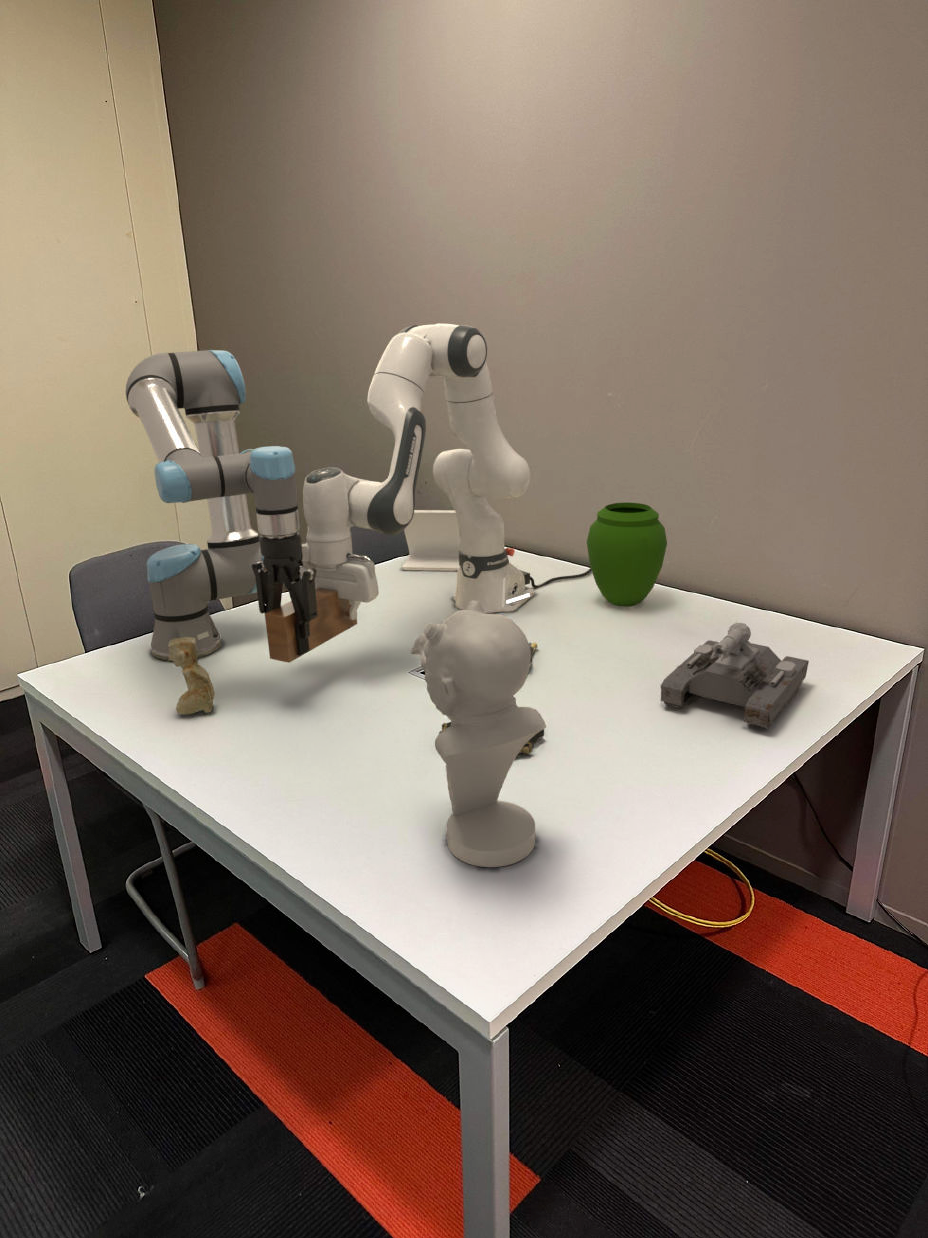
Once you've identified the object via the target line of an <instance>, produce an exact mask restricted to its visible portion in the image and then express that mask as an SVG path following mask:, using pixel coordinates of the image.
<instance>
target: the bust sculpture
mask: <svg viewBox="0 0 928 1238" xmlns="http://www.w3.org/2000/svg"><path fill="white" fill-rule="evenodd" d="M529 643H530V642H529V640H528V638H527V635H526V634H525V633H524V632H523V630H522V629H521V628H520V626H519V625H517V624H516V622H514V620H512V619H511V618H508V617H507V616H504V615H503V614H502V615H501V614H496V613H484V609H483V608H482V605H481V603H480V602H478V601H474V600H472V601H470V603H469V605H468V607H467V609H466V610H461V609H459V610H457V611H455V612H453V613H451V615H449V616H448V617H447V618H446V619H445V620H444V622H442V624H441V623H435V622H430V623H428V624H427V625H426V626H425V628H424V632H423V633H421V634H419V635H418V636H417V637H416V638H415V640H414V642H413V645H412V647H411V649H410V654H412V655H420V667H421V669H422V670H423V672H424V681H425V682H426V690H427V693H428V696H429V698H430V701H431V702H432V704H434V706H435V708H436V710H438V711H439V712H440V713H441V714H442V716H446V717H447V718H448V719H449V720H450V722H451V726H450V727H448V728H446V729H445V730H443V731H442V730H441V731H442V732H441V733H440V734H439V733H438V735H436V738H435V741H434V748H435V749H436V752H437V753H438V755H439V757H440V758H441V760H442V761H443V762H444V763H445V771H446V781H447V790H448V796H449V800H450V803H451V810H452V813H451V814H450V815H449V817H448V819H447V822H446V844H447V847H448V849H449V851H450V852H451V854H452V855H453V856H454V857H456V858H457V859H459V860H460V861H462V862H463V863H466V864H469V865H471V866H476V867H483V868H498V867H505V866H509V865H512V864H517V862H520V861H521V860H523V859H525V858H527V856H528V855H530V854H531V852H532V851H533V849H535V848H534V847H535V845H536V822H535V821H536V820H535V819H534V817H533V816H532V814H531V813H530V812H529V811H528V810H526V809H525V808H524V807H522V806H520V805H517V804H515V803H513V802H509V801H504V800H499V796H500V793H501V790H502V788H503V785H504V783H505V780H506V778H507V776H508V773H509V771H510V769H511V768H512V765H513V763H514V761H515V760H516V759H517V756H518V755H519V754H520V753H521V752H520V750H521V749H522V747H523V746H524V745H525V744H526V743H527V742H528V741H529V740H530V739H531V738H532V737H533V736H534V735H535V734H537V733H538V732H539V731H541V730H543V729H544V730H545V729H546V728H547V725H546V723H545V720H544V718H543V717H542V714H541V713H540V712H539V711H538V710H537V709H535V708H533V707H530V706H518V705H517V701H516V699H517V698H516V696H515V695H516V694H517V693H519V691H521V689H522V688H523V686H524V684H525V683H526V680H527V678H528V675H529V669H530V666H531V665H530V656H531V655H530V653H531V652H530V646H529ZM531 657H532V656H531ZM518 753H519V754H518Z"/></svg>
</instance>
